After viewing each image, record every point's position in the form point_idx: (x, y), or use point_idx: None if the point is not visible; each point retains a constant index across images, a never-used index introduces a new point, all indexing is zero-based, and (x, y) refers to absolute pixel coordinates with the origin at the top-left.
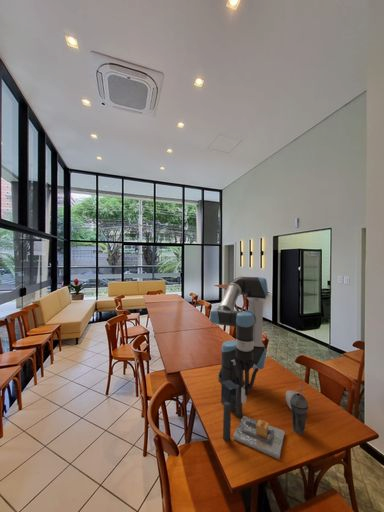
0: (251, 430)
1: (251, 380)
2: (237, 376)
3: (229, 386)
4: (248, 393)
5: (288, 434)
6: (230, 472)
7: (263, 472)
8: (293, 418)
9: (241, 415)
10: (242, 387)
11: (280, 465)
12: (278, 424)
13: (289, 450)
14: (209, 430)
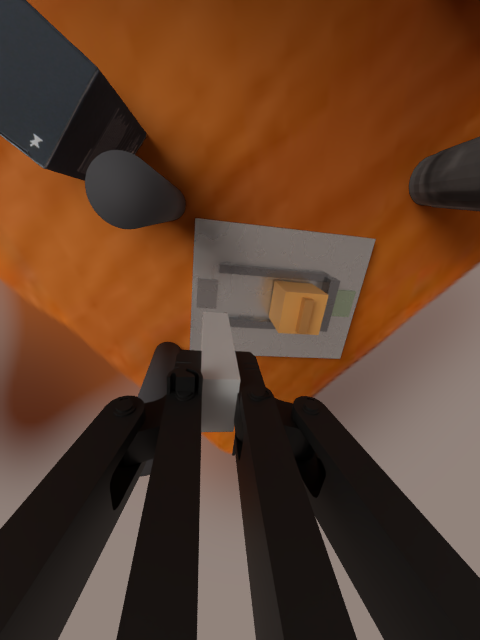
0: (248, 298)
1: (348, 555)
2: (102, 512)
3: (6, 111)
4: (255, 360)
5: (382, 228)
6: (216, 437)
7: (292, 403)
8: (454, 197)
9: (184, 210)
10: (206, 421)
11: (335, 367)
12: (352, 180)
13: (369, 305)
14: (95, 349)
